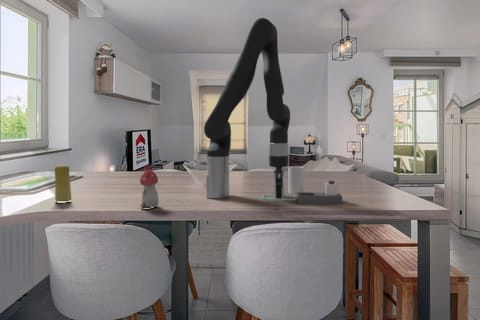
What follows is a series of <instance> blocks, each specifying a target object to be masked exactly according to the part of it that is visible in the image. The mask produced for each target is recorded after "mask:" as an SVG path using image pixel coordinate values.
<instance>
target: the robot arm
mask: <svg viewBox="0 0 480 320" xmlns="http://www.w3.org/2000/svg"><path fill="white" fill-rule="evenodd" d="M246 36H247V37H246V38H245V42H244V45H243V47H242V50H241V51H240V54H239V56H238V58H237V60H236V62H235V64H234V66H233V68H232V69H231V72H230V74H229V76H228V78H227V80H226V82H225V85H224V87H223V89H222V91H221V93H220V96H219V98H218V100H217V101H216V105H215V107H214V108H213V110H212V111H211V113H210V114H209V116H208V118H207V119H206V121H205V123H204V126H203V132H204V135H205V136H206V138H207V139H209V140H210V141H209V146H208V148H207V149H206V169H207V171H206V173H207V174H206V175H205V176H206V177H205V179H206V180H205V181H206V185H205V186H206V188H205V189H206V198H207V199H226V198H229V197H230V194H231V193H230V151H231V146H232V145H231V144H232V143H231V142H232V128H231V124H230V121H229V120H230V118H231V116H232V113H233V111H234V110H235V109H236V108H237V106H238V105H239V104H240V103H241V102H242V100H244V98H245V96H246V95H247V93H248V91H249V90H250V87H251V85H252V83H253V81H254V79H255V74H256V70H257V65H258V60H259V58H260V55H262V60H263V69H262V71H263V82H264V88H265V93H266V112H267V116H268V117H269V119H270V120H271V121H272V122H273V124H272V128H271V129H270V130H269V148H268V149H269V150H268V151H269V153H268V154H269V155H268V156H269V157H268V160H269V161H268V163H269V164H268V165H269V167H271V168H275V169H274V170H273V179H274V181H273V183H274V182H275V183H276V186H275V188H276V198H282V187H283V186H282V183H283V181H284V176H285V171H284V170H283V168H288V167H289V141H288V140H289V133H288V131H289V127H290V120H291V110H290V107H288V105H287V104H285V103H284V98H283V96H284V94H285V89H284V81H283V77H282V72H281V66H280V60H279V49H278V45H279V44H278V30H277V27H276V26H275V24H274V23H273V22H271V21H270V20H269V19H268V18H265V17H261V18H260V17H259V18H258V19H256V20H255V21H253V23H252V24H251V26H250V28H249V30H248V33H247V35H246ZM277 183H281V185H277Z"/></svg>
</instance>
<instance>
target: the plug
mask: <svg viewBox="0 0 480 320" xmlns="http://www.w3.org/2000/svg"><path fill="white" fill-rule="evenodd" d="M277 185H281V183H277ZM275 186H276V183H275V182H274V181H273V195H274V199H285V196H284V195H285V182H284V180H283V183H282V186H283V187H282V198H276V188H275Z"/></svg>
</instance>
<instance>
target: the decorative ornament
mask: <svg viewBox="0 0 480 320" xmlns="http://www.w3.org/2000/svg"><path fill="white" fill-rule="evenodd" d="M143 171H144V172H143V173H142V174H141V176H140V179H139V184H140V185H142V186H143V190H142V194H141V195H142V196H141V203H140V208H141V207H142V208H151V207H158V206H159V200H160V199H159V193H158V191H157V189H156V184H158V183H159V179H158V176H157V174H156V173H155V172H154V171H153V170H152V169H151V167H150V166H145V167H144V168H143Z"/></svg>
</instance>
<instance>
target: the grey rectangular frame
mask: <svg viewBox="0 0 480 320" xmlns="http://www.w3.org/2000/svg"><path fill="white" fill-rule="evenodd" d="M296 201H297V204H298V205H300V204H303V205H305V204H306V205H307V204H308V205H321V204H322V205H343V195H342V194H341V193H339V192H338V194H337V196H325V192H303V193H301V192H297V194H296Z"/></svg>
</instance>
